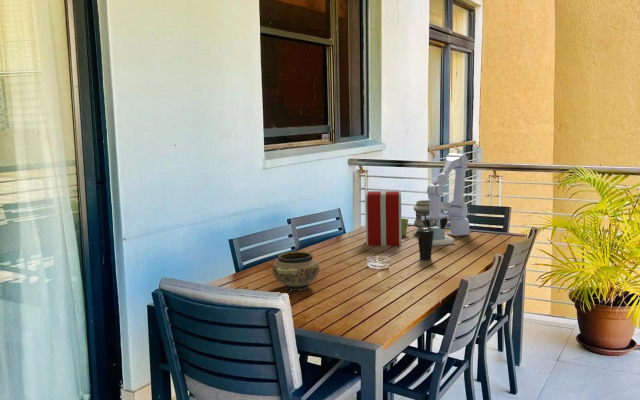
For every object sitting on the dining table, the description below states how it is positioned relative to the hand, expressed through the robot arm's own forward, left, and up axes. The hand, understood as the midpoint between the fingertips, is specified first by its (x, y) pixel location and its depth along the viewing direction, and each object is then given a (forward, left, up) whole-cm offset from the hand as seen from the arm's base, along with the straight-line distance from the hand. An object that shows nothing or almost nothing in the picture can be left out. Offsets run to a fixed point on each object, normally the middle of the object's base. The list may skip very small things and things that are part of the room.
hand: (435, 233), depth 309 cm
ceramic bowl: (+84, +65, -4) cm, 106 cm away
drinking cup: (+20, +37, -4) cm, 42 cm away
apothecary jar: (-3, -22, -4) cm, 23 cm away
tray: (0, +3, -4) cm, 5 cm away
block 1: (0, 0, -3) cm, 3 cm away
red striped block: (+26, -5, -4) cm, 27 cm away
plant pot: (+12, -20, -4) cm, 24 cm away
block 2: (0, +6, -3) cm, 6 cm away
